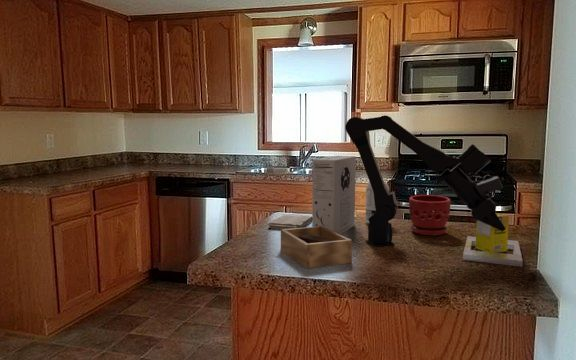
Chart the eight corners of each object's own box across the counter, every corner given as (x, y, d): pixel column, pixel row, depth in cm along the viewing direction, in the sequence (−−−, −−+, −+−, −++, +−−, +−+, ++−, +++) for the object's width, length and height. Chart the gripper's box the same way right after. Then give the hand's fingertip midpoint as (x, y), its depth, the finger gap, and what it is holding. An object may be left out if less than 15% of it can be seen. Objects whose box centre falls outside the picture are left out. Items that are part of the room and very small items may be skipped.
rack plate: (522, 266, 112) (522, 260, 112) (462, 259, 118) (463, 254, 118) (517, 245, 132) (518, 240, 132) (467, 240, 138) (467, 235, 138)
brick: (297, 252, 126) (297, 236, 126) (306, 249, 129) (306, 233, 129) (327, 259, 119) (327, 242, 119) (336, 256, 122) (336, 240, 122)
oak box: (305, 268, 111) (306, 244, 110) (280, 250, 128) (280, 229, 127) (351, 262, 116) (352, 240, 115) (321, 245, 132) (321, 226, 132)
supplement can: (372, 220, 169) (372, 181, 168) (392, 223, 164) (393, 182, 162) (361, 223, 163) (362, 183, 161) (381, 226, 158) (382, 184, 156)
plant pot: (401, 229, 154) (402, 195, 153) (436, 227, 157) (437, 194, 155) (419, 238, 141) (420, 201, 140) (457, 236, 144) (458, 199, 143)
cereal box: (334, 223, 163) (335, 155, 160) (354, 225, 160) (355, 156, 157) (311, 236, 144) (312, 159, 141) (333, 239, 141) (334, 160, 138)
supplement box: (507, 254, 124) (509, 215, 123) (491, 256, 122) (493, 216, 120) (490, 248, 129) (492, 211, 128) (474, 250, 127) (476, 213, 126)
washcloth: (266, 230, 154) (266, 221, 154) (283, 220, 171) (283, 212, 171) (299, 233, 151) (299, 224, 150) (313, 222, 168) (313, 214, 167)
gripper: (488, 169, 115) (533, 214, 113) (481, 163, 132) (520, 202, 130) (454, 197, 118) (497, 241, 116) (452, 188, 136) (489, 226, 134)
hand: (502, 226), depth 124 cm, fingers closed on supplement box, 8 cm apart
